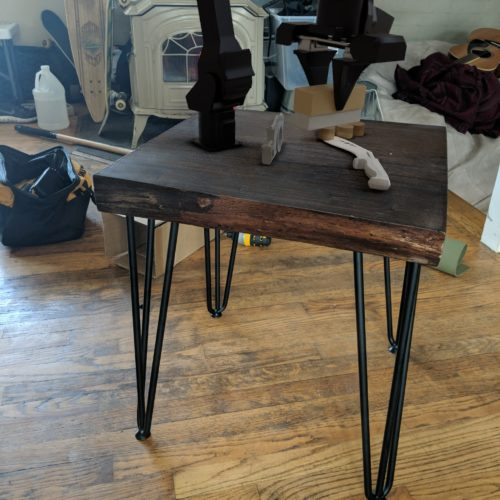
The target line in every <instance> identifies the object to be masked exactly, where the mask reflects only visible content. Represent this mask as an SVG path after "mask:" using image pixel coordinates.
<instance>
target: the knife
mask: <svg viewBox="0 0 500 500" xmlns="http://www.w3.org/2000/svg"><path fill="white" fill-rule="evenodd" d="M321 141H323V142H325V143H327V144H329V145H331V146H334V147H336V148H340V149H342V150H345V151H348V152H350V153H352V154H354V155H355V156H356V157H354V159H353V161H352V167H353V169H355V170H364V173H365V175H366V177H368V178H369V179H368V181H367V185H368V187H369V188H370V189H374V190H378V191H387V190H389V189H390V187H391V181H390V178H389V175H388V173H387V172H386V170H385V168H384V167H383V166H382V164H381V163H380V160H379V159H378V158H376V157H375V156H374V153H373V152H372V151H371V150H368V149H366V148H364V147H363V146H360V145H358V144H356V143H354V142H352V141H350V140H348V139H342V138H339V137H336V135H335V136H334V139H331V140H323V139H321Z"/></svg>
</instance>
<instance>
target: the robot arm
mask: <svg viewBox="0 0 500 500" xmlns="http://www.w3.org/2000/svg"><path fill="white" fill-rule="evenodd" d="M196 7H197V11H198V18H199V19H198V20H199V24H200V31H201V36H202V47H201V50H200V53H199V57H198V59H197V64H196V67H197V81H196V82H195V83H194V85H193V86H192V87H191V88H190V90H189V91H188V92H187V93H186V95H185V97H184V98H185V102H186V105H187V109H188V110H190V111H194V112H197V116H198V119H197V120H198V137H194V138H191V139H190V142H191V143H192V144H195V145H196V146H199V147H200V148H202V149H204V150H207V151H209V152H216V151H221V150H226V149H231V148H235V147H236V148H237V147H241V146H243V142H242V141H240V140H237V139H236V124H237V123H236V122H237V121H236V109H234V108H236V107H242V106H244V104H245V101H246V98H247V95H248V93H249V92H250V90H251V89H252V87H253V77H255V76H256V73H255V71H254V69H253V61H252V50H251V49H250V48H242V47H241V45H240V44H239V42H238V41H237V39H236V36H235V35H236V34H235V27H234V21H233V14H232V7H231V0H196ZM315 17H316V19H315V22H312V21H282V22H281V23H280V24H279V25H278V27H277V28H276V30H275V44H276V45H280V46H285V47H291V46H292V45H293V44H296V43H297V49H292V53H293V55H294V56H296V57H297V59H298V62H299V64H300V66H301V69H302V71H303V73H304V75H305V78H306V80H307V84H308V86H315V85H323V84H328V78H329V72H330V66H331V70H332V71H331V72H332V83H333V90H334V103H335V109H336V111H342V110H343V109H344V107H345V105H346V103H347V101H348V99H349V97H350V94H351V92H352V90H353V88H354V86H355V84H357V82H358V81H359V79H360V77H361V75H362V74H363V72H364V71H365V70H366V69H367V68H368V67H369V66H371V65H372V64H373V65H375V64H382V63H392V62H394V63H395V62H402V61H403V62H404V61H405V60H406V54H407V50H408V49H407V48H408V44H407V42H406V39H405V36H404V35H401V34H394V33H390V32H391V29H392V27H393V24H394V21H395V17H394V16H393V15H392V14H390V13H388V12H387V11H385V10H383V9H382V8H380V7H377V6H375V5H374V4H373V0H317V7H316V16H315ZM338 49H339V50H344V51H343V53H342V57H335V56H336V55H337V53H338ZM330 64H331V65H330Z"/></svg>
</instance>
